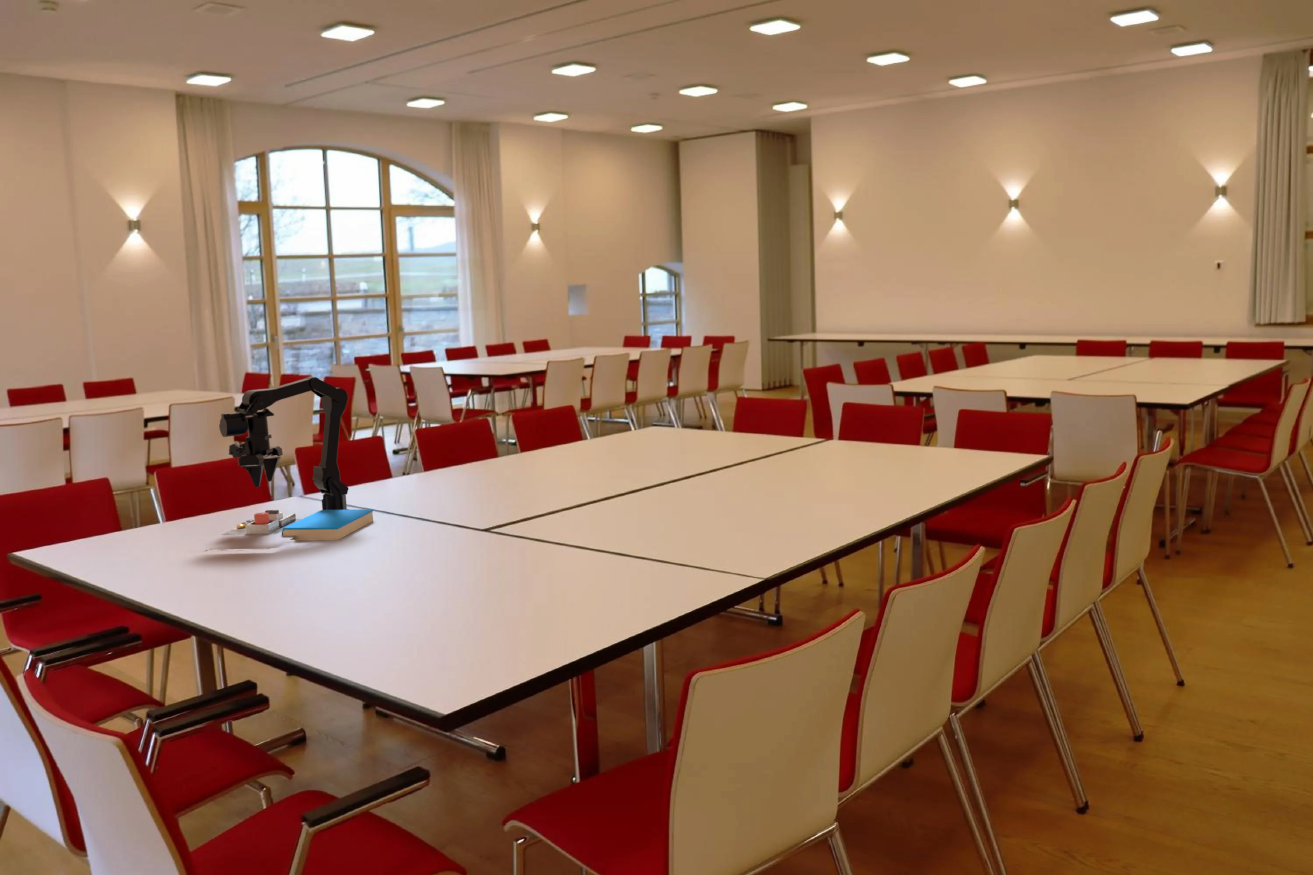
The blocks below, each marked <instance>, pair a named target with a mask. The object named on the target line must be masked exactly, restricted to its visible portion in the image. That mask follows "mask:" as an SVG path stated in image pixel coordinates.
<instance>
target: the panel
mask: <svg viewBox="0 0 1313 875" xmlns="http://www.w3.org/2000/svg"><path fill="white" fill-rule="evenodd" d="M301 519H302V518H297V517H296V513H295V512H294V513H290V514H288V515H286V516H283V518H282V519H280V520H269V522H270V523H269V524H260V525H255V520H254V519H247V520H245V521H244V522H241V524H237V525H236V527H234V528H231V530H229V531H226V532H225V533H222V534H221V536H234V535H235V536H236V535H237V536H238V535H241V536H242V535H276V534H278V533H280V532H282V530H283V528H284V527H286V526H288V525H290V524H292V523H295V522H297V521H299V520H301Z"/></svg>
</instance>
